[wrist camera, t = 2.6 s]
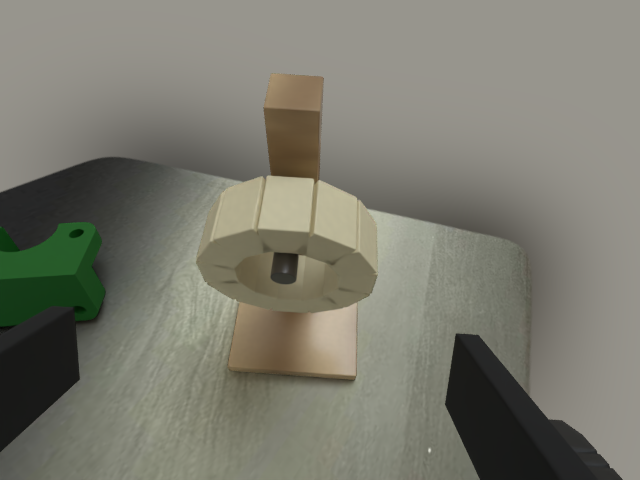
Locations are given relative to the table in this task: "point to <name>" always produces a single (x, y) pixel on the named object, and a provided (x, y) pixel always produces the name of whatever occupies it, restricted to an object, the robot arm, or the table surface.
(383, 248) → the table surface
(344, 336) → the hook stand
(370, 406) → the table surface
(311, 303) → the segmented ring
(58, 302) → the clamp
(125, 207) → the table surface
